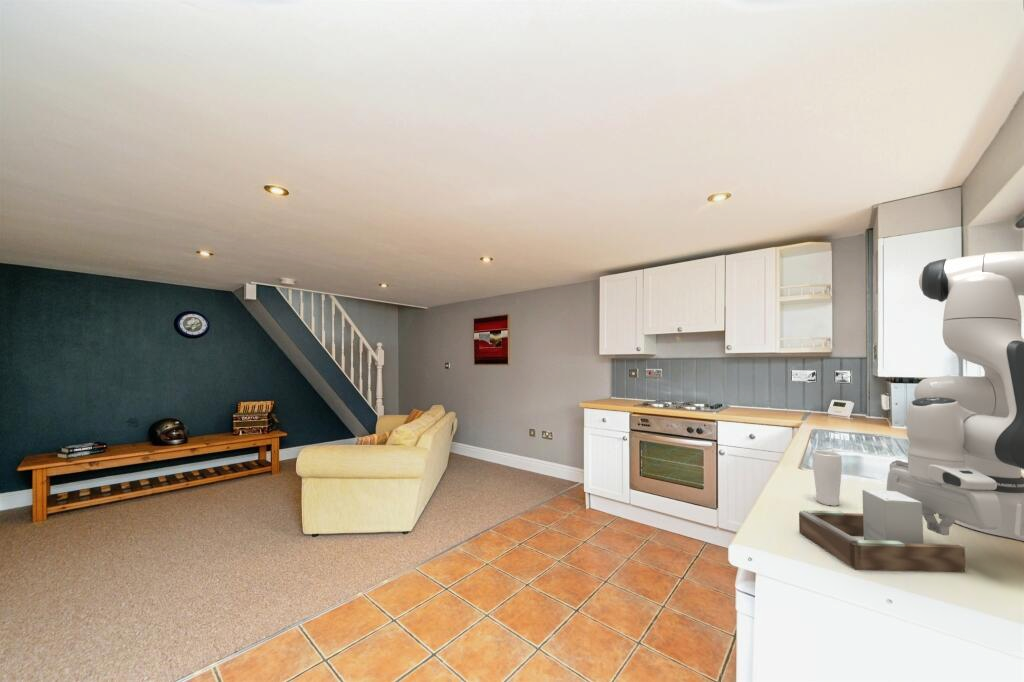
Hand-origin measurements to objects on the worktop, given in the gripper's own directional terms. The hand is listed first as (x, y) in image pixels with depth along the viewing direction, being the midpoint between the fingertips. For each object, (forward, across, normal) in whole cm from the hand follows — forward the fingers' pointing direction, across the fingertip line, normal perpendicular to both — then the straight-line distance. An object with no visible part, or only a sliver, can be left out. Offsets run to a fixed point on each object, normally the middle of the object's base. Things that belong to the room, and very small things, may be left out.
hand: (938, 532), depth 86 cm
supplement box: (+5, -2, -9) cm, 10 cm away
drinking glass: (+4, -30, 0) cm, 30 cm away
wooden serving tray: (+5, -2, -13) cm, 14 cm away
